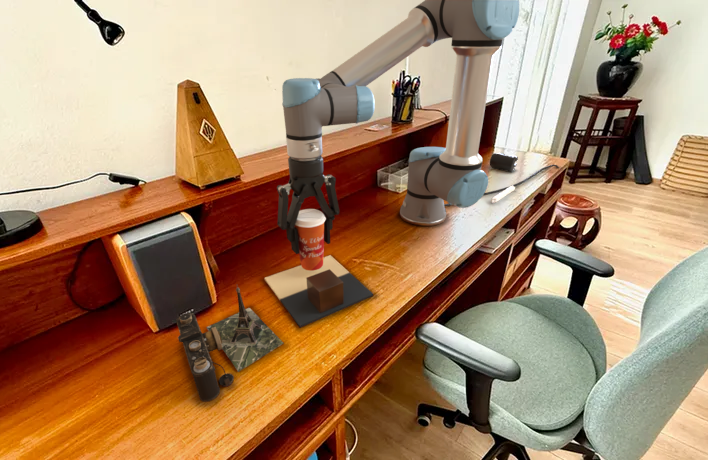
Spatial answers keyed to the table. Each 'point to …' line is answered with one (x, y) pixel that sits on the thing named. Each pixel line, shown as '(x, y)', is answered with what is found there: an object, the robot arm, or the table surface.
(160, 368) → the table surface
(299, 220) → the paper cup
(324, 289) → the walnut block
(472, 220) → the table surface
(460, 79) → the robot arm
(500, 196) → the marker
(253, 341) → the eiffel tower figurine
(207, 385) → the camera
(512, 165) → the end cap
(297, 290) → the sorting mat
